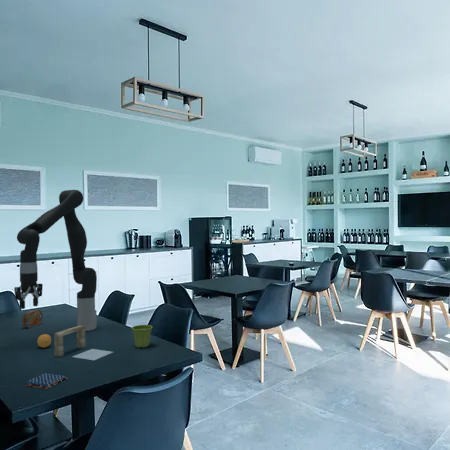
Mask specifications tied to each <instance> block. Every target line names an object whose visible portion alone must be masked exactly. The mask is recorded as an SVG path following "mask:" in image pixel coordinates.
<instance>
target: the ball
mask: <svg viewBox="0 0 450 450" xmlns="http://www.w3.org/2000/svg"><path fill="white" fill-rule="evenodd" d="M36 342H37V345H38V346H39V347H40V348H48V347H49V346H50V345H51V343H52V337H51V336H50V335H49V334H47V333H44V334H41V335H39V336H38V338H37V341H36Z"/></svg>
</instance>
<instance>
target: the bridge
mask: <svg viewBox="0 0 450 450" xmlns="http://www.w3.org/2000/svg"><path fill="white" fill-rule="evenodd" d="M75 332H76V346H77V348H78V349H84V348H86V331H85V326H81V325H80V326H77V325H76V326H74V327H71V328H66V329H63V330H61V331H57V332H54V334H53V336H54V337H53V338H54V339H53V340H54V357H62V356H64V336H66V335H69V334H70V335H71V334H72V333H75Z"/></svg>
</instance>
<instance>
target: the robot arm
mask: <svg viewBox="0 0 450 450" xmlns="http://www.w3.org/2000/svg"><path fill="white" fill-rule="evenodd" d="M58 202H59V204H58V205H57V206H55V207H52V208H51V209H49V210H47V211H46V212H44V213H43V214H41V215H40V216H39V217H38V218H37V219H35V221H33V222H32V223H29V224H28V225H26V226H24V227H22V229H21V230H19V232H17V236H16V240H17V242H18V243H20V244H22V245H25V246H24V249H22V250H21V251H20V254H19V259H20V261H19V263H20V265H19V282H20V285H19V286H15V287H14V288H13V289H14V296H15V297H14V299H15V301H19V308H20V309H21V310H24V309H26V301H25V300H26V297H27V296H28V295H29V294H30V295H31V296H32V297H33V298H32V306H33V307H38V306H39V298H40V297H42V296H43V283H37V282H38V263H37V262H38V261H37V260H38V259H37V257H38V256H37V255H38V249H39V246H40V241H41V238H40V234H44V233H46V232H47V231H48V230H49V229H51V227H53V225H55V224H56V223H57V222H58V221H59V220H61V219H62V218H63V219H64V224H65V230H66V235H67V241H68V245H69V249H70V250H69V251H70V257H71V265H72V266H71V267H72V275H73V276H72V278H73V280H74V282H75V283H76V284H78V285H81V290H80V291H78V292H77V293H76V319H77V321H76V322H77V324H76V326H80V325H81V326H85V332H90V331H93V330H95V329H97V326H98V325H97V322H98V321H97V310H96V293H97V283H98V281H97V272H96V270H95V269H94V268H92V267H86V264H85V253H86V250H87V246H88V239H87V234H86V230H85V228H84V226H83V224H82V223H81V221H80V220H79V219H78V216H77V213H76V209H77V208H78V207H80V206H81V205H82V204H83V202H84V194H83V193H82V192H81V191H80V190H78V189H67V190H63V191H61V192H60V193H59V196H58Z"/></svg>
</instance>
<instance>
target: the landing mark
mask: <svg viewBox="0 0 450 450" xmlns="http://www.w3.org/2000/svg"><path fill="white" fill-rule="evenodd" d="M113 353H114V351H109V350H104V349H103V350H102V349H96V348H91V349H89V350H85V351H83V352H80V353H78V354H75V355H73V356H72V358H76V359H83V360H88V361H94V362H95V361H96V360H99V359H102V358H105V356H109V355H110V354H113Z"/></svg>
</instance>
